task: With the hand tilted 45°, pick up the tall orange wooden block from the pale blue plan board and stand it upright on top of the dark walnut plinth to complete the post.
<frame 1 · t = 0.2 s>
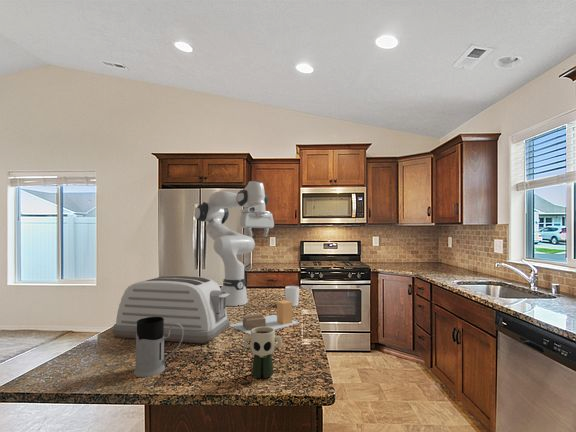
hand: (258, 236, 168), 39 cm above the countertop, tool pointing down, fingers open, 8 cm apart
glass holder: (159, 370, 97), on the countertop
walnut plinth: (253, 326, 137), resting on plan board
plan board: (265, 326, 141), on the countertop
orange block: (284, 322, 144), point 1 cm above the countertop, touching plan board
toaster: (175, 333, 133), on the countertop
character mug: (262, 375, 94), on the countertop
white cup: (292, 305, 181), on the countertop
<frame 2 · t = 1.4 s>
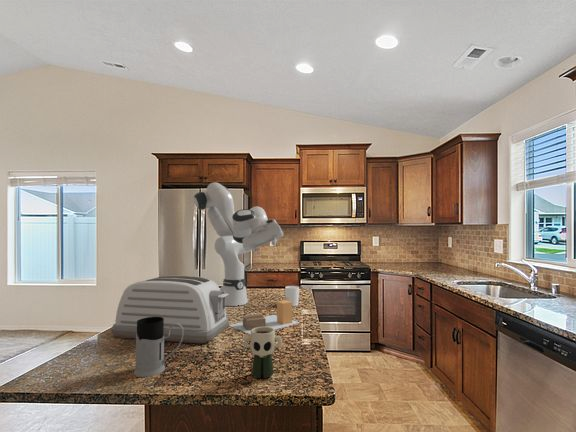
hand: (265, 248, 150), 33 cm above the countertop, tool tilted 50°, fingers open, 8 cm apart
nothing on the countertop moved.
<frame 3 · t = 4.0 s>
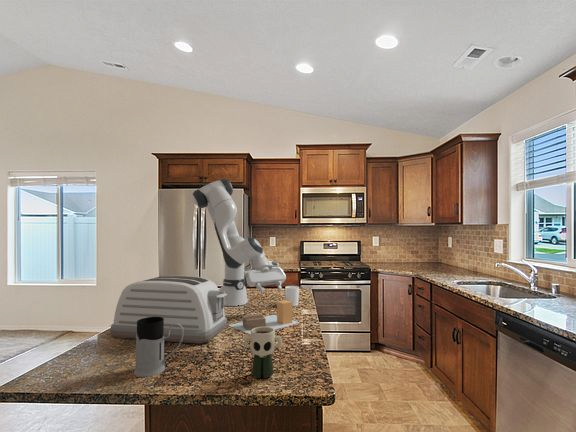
hand: (271, 290, 151), 14 cm above the countertop, tool tilted 45°, fingers open, 8 cm apart
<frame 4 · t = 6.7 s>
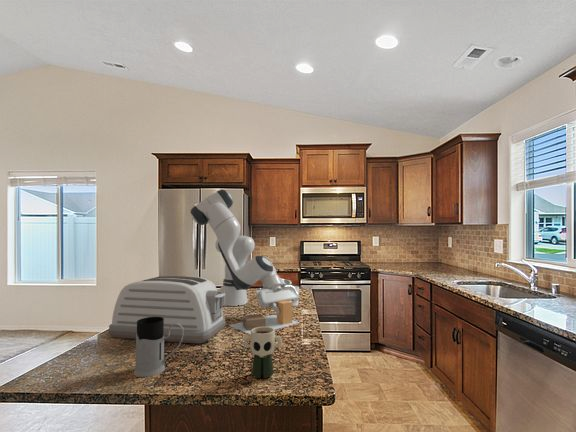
hand: (285, 311, 143), 6 cm above the countertop, tool tilted 45°, fingers closed on orange block, 5 cm apart
orange block: (284, 322, 144), point 1 cm above the countertop, touching gripper, plan board
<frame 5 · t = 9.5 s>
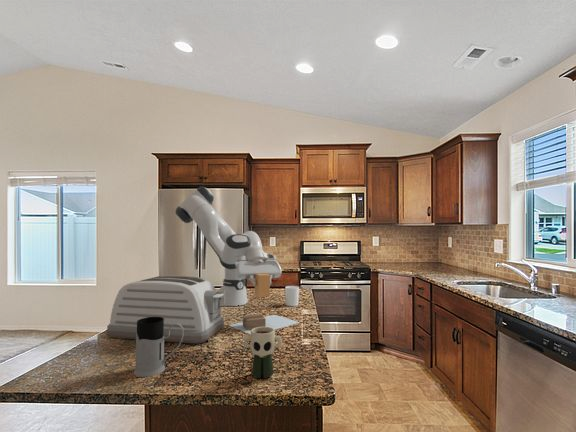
hand: (262, 284, 139), 19 cm above the countertop, tool tilted 45°, fingers closed on orange block, 5 cm apart
orange block: (261, 295, 139), point 14 cm above the countertop, touching gripper
when the fingers open (11 cm above the countertop, at t = 12.2 s): orange block drops 2 cm, resting on walnut plinth.
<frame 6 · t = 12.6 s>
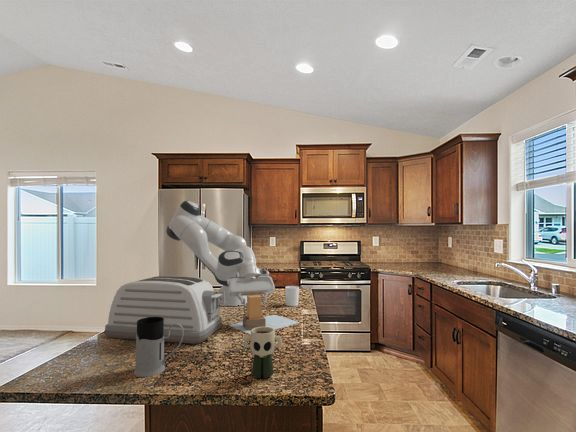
hand: (254, 302, 137), 11 cm above the countertop, tool tilted 45°, fingers open, 8 cm apart
orange block: (254, 317, 137), point 5 cm above the countertop, touching walnut plinth
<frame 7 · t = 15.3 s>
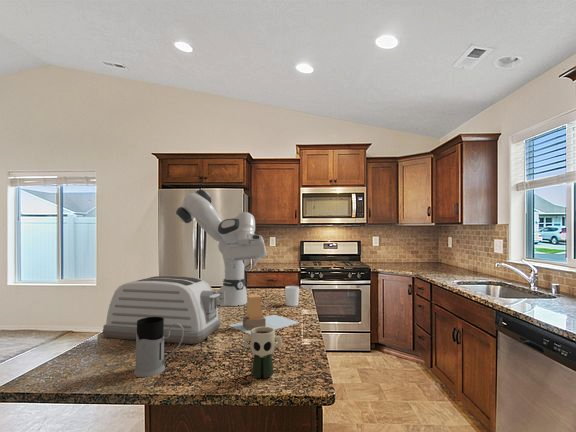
hand: (244, 267, 145), 26 cm above the countertop, tool tilted 35°, fingers open, 8 cm apart
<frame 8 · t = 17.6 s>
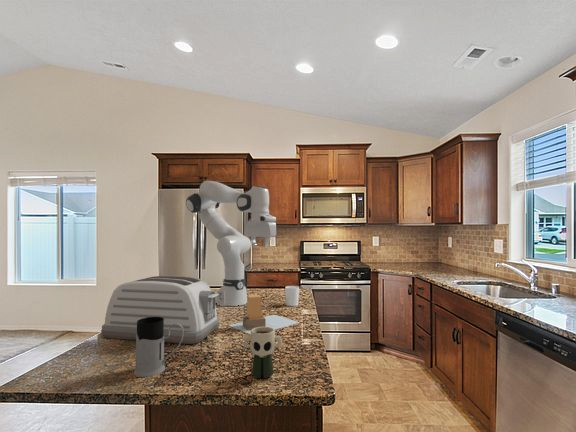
hand: (260, 246, 158), 34 cm above the countertop, tool pointing down, fingers open, 8 cm apart
at the end: orange block 0.1 cm off-centre on the walnut plinth, point 4.0 cm above the walnut plinth's base; orange block tilted 0°; the gripper is holding nothing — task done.
